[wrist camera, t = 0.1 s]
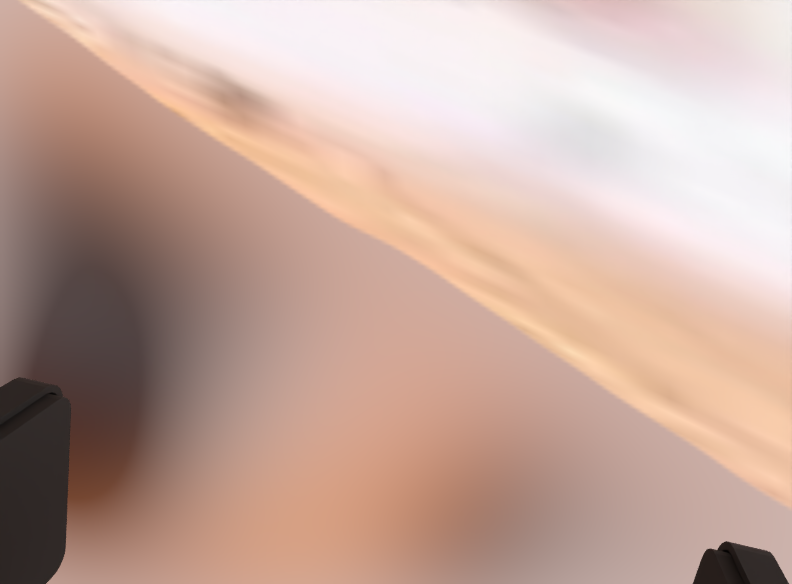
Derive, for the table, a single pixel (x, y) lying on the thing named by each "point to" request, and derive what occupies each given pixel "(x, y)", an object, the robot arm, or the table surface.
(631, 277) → the table surface
